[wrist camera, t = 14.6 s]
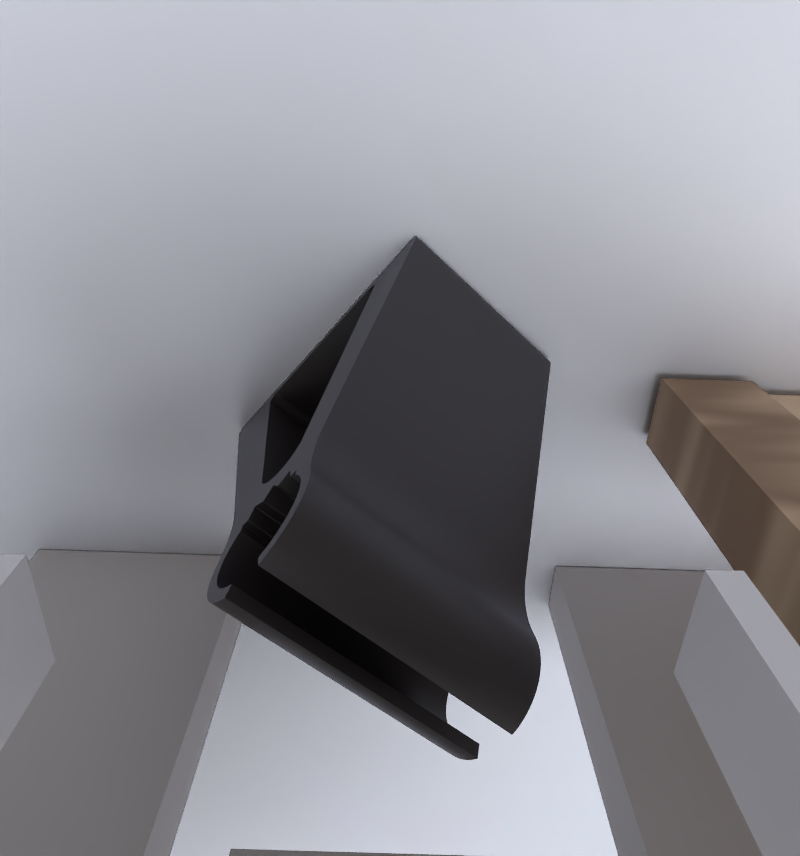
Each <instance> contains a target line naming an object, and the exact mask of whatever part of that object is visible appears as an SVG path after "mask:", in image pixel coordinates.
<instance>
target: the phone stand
mask: <svg viewBox="0 0 800 856" xmlns="http://www.w3.org/2000/svg"><path fill="white" fill-rule="evenodd" d="M549 372H550V361H548V360H547V359H546V358H545V357H544V356H543V355H542V354H541V353H540V352H539V351H538V350H537V349H536V348H535V347H534V346H532V345H531V344H530V343H529V342H528V341H527V340H526V339H525V338H524V337H523V336H522V335H521V334H520V333H519V332H518V331H517V330H515V329H514V328H513V327H512V326H511V325H510V324H509V323H508V322H507V321H506V320H505V319H504V318H503V317H502V316H501V315H499V314H498V313H497V312H496V311H495V310H494V309H493V308H492V307H491V306H490V305H489V304H488V303H487V302H486V301H485V300H483V299H482V298H481V297H480V296H479V295H478V294H477V293H476V292H475V291H474V290H473V289H472V288H471V287H470V286H469V285H467V284H466V283H465V282H464V281H463V280H462V279H461V278H460V277H459V276H458V275H457V274H456V273H455V272H454V271H453V270H451V269H450V268H449V267H448V266H447V265H446V264H445V263H444V262H443V261H442V260H441V259H440V258H439V257H438V256H437V255H435V254H434V253H433V252H432V251H431V250H430V249H429V248H428V247H427V246H426V245H425V244H424V243H423V242H422V241H421V240H420V239H418V238H417V237H416V236H415V237H414V238H413V239H412V240H411V241H410V242H409V243H408V244H407V245H406V246H405V247H404V248H403V249H402V250H401V252H400V253H399V254H398V255H397V256H396V257H395V258H394V259H393V260H392V262H391V263H390V264H389V265H388V266H387V267H386V268H385V269H384V271H383V272H382V273H381V274H380V275H379V276H378V277H377V278H376V279H375V281H374V282H373V283H372V284H371V285H370V286H369V287H368V288H367V290H366V291H365V292H364V293H363V294H362V295H361V296H360V297H359V298H358V300H357V301H356V302H355V303H354V304H353V305H352V306H351V307H350V308H349V310H348V311H347V312H346V313H345V314H344V315H343V316H342V317H341V319H340V320H339V321H338V322H337V323H336V324H335V325H334V326H333V327H332V329H331V330H330V331H329V332H328V333H327V334H326V336H325V337H324V339H323V340H322V341H321V342H319V343H318V344H317V345H316V346H315V348H314V349H313V350H312V351H311V352H310V353H309V354H308V355H307V356H306V358H305V359H304V360H303V361H302V362H301V363H300V364H299V365H298V367H297V368H296V369H295V370H294V371H293V372H292V373H291V374H290V375H289V377H288V378H287V379H286V380H285V381H284V382H283V383H282V384H281V386H280V387H279V388H278V389H277V390H276V391H275V392H274V393H273V394H272V396H271V397H270V398H269V399H268V400H267V401H266V402H265V403H264V404H263V406H262V407H261V408H260V409H259V410H258V411H257V412H256V413H255V415H254V416H253V417H252V418H251V419H250V420H249V421H248V422H247V424H246V425H245V426H244V427H243V429H242V430H241V432H240V434H239V444H238V461H237V478H236V495H235V512H234V523H233V527H232V531H231V534H230V537H229V539H228V542H227V545H226V547H225V549H224V552H223V554H222V556H221V558H220V560H219V562H218V564H217V566H216V568H215V571H214V573H213V575H212V578H211V580H210V583H209V587H208V591H207V599H208V601H209V602H210V603H211V604H213V605H215V606H216V607H218V608H219V609H221V610H223V611H224V612H226V613H227V614H229V615H230V616H232V617H234V618H235V619H237V620H238V621H240V622H242V623H243V624H245V625H246V626H248V627H250V628H251V629H253V630H254V631H256V632H258V633H259V634H261V635H262V636H264V637H265V638H267V639H269V640H270V641H272V642H273V643H275V644H277V645H278V646H280V647H281V648H283V649H285V650H286V651H288V652H289V653H291V654H293V655H294V656H296V657H297V658H299V659H300V660H302V661H304V662H305V663H307V664H308V665H310V666H312V667H313V668H315V669H316V670H318V671H320V672H321V673H323V674H324V675H326V676H327V677H329V678H331V679H332V680H334V681H335V682H337V683H339V684H340V685H342V686H343V687H345V688H347V689H348V690H350V691H351V692H353V693H355V694H356V695H358V696H359V697H361V698H362V699H364V700H366V701H367V702H369V703H370V704H372V705H374V706H375V707H377V708H378V709H380V710H382V711H383V712H385V713H386V714H388V715H390V716H391V717H393V718H394V719H396V720H397V721H399V722H401V723H402V724H404V725H405V726H407V727H409V728H410V729H412V730H413V731H415V732H417V733H418V734H420V735H421V736H423V737H425V738H426V739H428V740H429V741H431V742H432V743H434V744H436V745H437V746H439V747H440V748H442V749H444V750H445V751H447V752H448V753H450V754H452V755H453V756H455V757H457V758H460V759H464V760H472V759H477V758H478V750H479V743H477V742H475V741H474V740H472V739H471V738H469V737H468V736H466V735H465V734H463V733H462V732H460V731H458V730H457V729H455V728H454V727H452V726H451V725H449V724H448V723H447V719H446V703H447V696H448V692H449V693H450V694H452V695H453V696H455V697H456V698H458V699H459V700H461V701H462V702H464V703H465V704H467V705H468V706H470V707H471V708H473V709H474V710H476V711H477V712H479V713H480V714H482V715H483V716H485V717H486V718H488V719H489V720H491V721H492V722H494V723H495V724H497V725H498V726H500V727H501V728H503V729H504V730H506V731H507V732H509V733H510V734H513V733H514V732H515V731H516V729H517V728H518V727H519V725H520V724H521V722H522V721H523V719H524V718H525V716H526V714H527V712H528V710H529V708H530V706H531V704H532V701H533V699H534V696H535V693H536V690H537V686H538V682H539V677H540V668H541V657H540V649H539V645H538V642H537V640H536V637H535V635H534V633H533V631H532V629H531V627H530V624H529V621H528V617H527V613H526V607H525V577H526V569H527V560H528V552H529V543H530V535H531V526H532V518H533V509H534V500H535V492H536V483H537V475H538V466H539V458H540V449H541V441H542V432H543V423H544V415H545V406H546V398H547V389H548V381H549Z"/></svg>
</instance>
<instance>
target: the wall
mask: <svg viewBox="0 0 800 856" xmlns="http://www.w3.org/2000/svg"><path fill="white" fill-rule="evenodd" d="M221 556H222V555H191V554H161V553H130V552H99V551H68V550H38V551H37V553H36V554H35V555H34V556H33V558H32V559H31V560H30V561H29V563H28V564H29V568H30V571H31V575H32V579H33V582H34V586H35V590H36V593H37V597H38V601H39V604H40V608H41V612H42V615H43V619H44V622H45V626H46V630H47V633H48V637H49V641H50V644H51V648H52V652H53V655H54V659H55V662H54V663H53V665H52V667H51V668H50V670H49V672H48V673H47V675H46V677H45V678H44V680H43V682H42V683H41V685H40V687H39V688H38V690H37V692H36V693H35V695H34V697H33V698H32V700H31V702H30V703H29V705H28V707H27V708H26V710H25V711H24V713H23V715H22V716H21V718H20V720H19V721H18V723H17V725H16V726H15V728H14V730H13V731H12V733H11V735H10V736H9V738H8V740H7V741H6V743H5V745H4V746H3V748H2V750H1V751H0V856H170V853H171V849H172V846H173V843H174V840H175V837H176V833H177V830H178V827H179V824H180V820H181V817H182V814H183V811H184V808H185V804H186V801H187V798H188V795H189V791H190V788H191V785H192V782H193V778H194V775H195V772H196V769H197V766H198V762H199V759H200V756H201V753H202V749H203V746H204V743H205V740H206V737H207V733H208V730H209V727H210V724H211V720H212V717H213V714H214V711H215V708H216V704H217V701H218V698H219V695H220V691H221V688H222V685H223V682H224V679H225V675H226V672H227V669H228V666H229V662H230V659H231V656H232V653H233V650H234V646H235V643H236V640H237V637H238V633H239V630H240V627H241V624H242V622H240V621H238V620H237V619H235V618H234V617H232V616H230V615H229V614H227V613H226V612H224V611H223V610H221V609H219V608H218V607H216V606H215V605H213V604H211V603H210V602H209V601H208V599H207V591H208V587H209V583H210V580H211V578H212V575H213V573H214V571H215V568H216V566H217V564H218V562H219V560H220V558H221ZM703 574H704V571H685V570H654V569H623V568H592V567H561V566H555V572H554V577H553V583H552V589H551V594H550V600H549V605H548V606H549V610H550V613H551V617H552V620H553V624H554V627H555V631H556V635H557V638H558V642H559V645H560V649H561V652H562V656H563V660H564V663H565V667H566V670H567V674H568V677H569V681H570V685H571V688H572V692H573V695H574V699H575V702H576V706H577V710H578V713H579V717H580V720H581V724H582V727H583V731H584V735H585V738H586V742H587V745H588V749H589V752H590V756H591V760H592V763H593V767H594V770H595V774H596V777H597V781H598V785H599V788H600V792H601V795H602V799H603V802H604V806H605V810H606V813H607V817H608V820H609V824H610V827H611V831H612V835H613V838H614V842H615V845H616V849H617V852H618V856H763V855H762V853H761V851H760V849H759V847H758V845H757V843H756V841H755V839H754V837H753V835H752V833H751V831H750V829H749V827H748V825H747V823H746V821H745V818H744V816H743V814H742V812H741V810H740V808H739V806H738V804H737V802H736V800H735V798H734V796H733V794H732V792H731V790H730V788H729V786H728V784H727V781H726V779H725V777H724V775H723V773H722V771H721V769H720V767H719V765H718V763H717V761H716V759H715V757H714V755H713V753H712V751H711V749H710V747H709V745H708V742H707V740H706V738H705V736H704V734H703V732H702V730H701V728H700V726H699V724H698V722H697V720H696V718H695V716H694V714H693V712H692V710H691V708H690V705H689V703H688V701H687V699H686V697H685V695H684V693H683V691H682V689H681V687H680V685H679V683H678V681H677V679H676V677H675V675H674V669H675V666H676V663H677V660H678V656H679V653H680V650H681V647H682V643H683V640H684V637H685V633H686V630H687V627H688V624H689V620H690V617H691V614H692V610H693V607H694V604H695V601H696V597H697V594H698V591H699V588H700V584H701V581H702V578H703ZM229 856H462V855H427V854H392V853H357V852H322V851H286V850H251V849H231V850H230V854H229Z"/></svg>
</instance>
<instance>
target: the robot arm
mask: <svg viewBox="0 0 800 856" xmlns="http://www.w3.org/2000/svg"><path fill="white" fill-rule="evenodd" d="M54 662H55V659H54V655H53V652H52V648H51V644H50V641H49V637H48V633H47V630H46V626H45V622H44V619H43V615H42V612H41V608H40V604H39V601H38V597H37V593H36V590H35V586H34V582H33V579H32V575H31V571H30V568H29V564H28V560H27V557H26V554H0V751H1V750H2V748H3V746H4V745H5V743H6V741H7V740H8V738H9V736H10V735H11V733H12V731H13V730H14V728H15V726H16V725H17V723H18V721H19V720H20V718H21V716H22V715H23V713H24V711H25V710H26V708H27V707H28V705H29V703H30V702H31V700H32V698H33V697H34V695H35V693H36V692H37V690H38V688H39V687H40V685H41V683H42V682H43V680H44V678H45V677H46V675H47V673H48V672H49V670H50V668H51V667H52V665H53V663H54ZM674 675H675V677H676V679H677V681H678V683H679V685H680V687H681V689H682V691H683V693H684V695H685V697H686V699H687V701H688V703H689V705H690V708H691V710H692V712H693V714H694V716H695V718H696V720H697V722H698V724H699V726H700V728H701V730H702V732H703V734H704V736H705V738H706V740H707V742H708V745H709V747H710V749H711V751H712V753H713V755H714V757H715V759H716V761H717V763H718V765H719V767H720V769H721V771H722V773H723V775H724V777H725V779H726V781H727V784H728V786H729V788H730V790H731V792H732V794H733V796H734V798H735V800H736V802H737V804H738V806H739V808H740V810H741V812H742V814H743V816H744V818H745V821H746V823H747V825H748V827H749V829H750V831H751V833H752V835H753V837H754V839H755V841H756V843H757V845H758V847H759V849H760V851H761V853H762V855H763V856H800V646H799V645H798V643H797V642H796V641H795V639H794V638H793V637H792V635H791V634H790V633H789V631H788V630H787V628H786V627H785V626H784V624H783V623H782V622H781V620H780V619H779V618H778V616H777V615H776V614H775V612H774V611H773V610H772V608H771V607H770V606H769V604H768V603H767V601H766V600H765V599H764V597H763V596H762V595H761V593H760V592H759V591H758V589H757V588H756V587H755V585H754V584H753V583H752V581H751V580H750V579H749V577H748V576H747V574H746V573H745V572H744V571H733V570H705V571H704V574H703V578H702V581H701V584H700V588H699V591H698V594H697V597H696V601H695V604H694V607H693V610H692V614H691V617H690V620H689V624H688V627H687V630H686V633H685V637H684V640H683V643H682V647H681V650H680V653H679V656H678V660H677V663H676V666H675V669H674Z"/></svg>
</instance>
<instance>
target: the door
mask: <svg viewBox="0 0 800 856" xmlns="http://www.w3.org/2000/svg"><path fill="white" fill-rule="evenodd" d="M646 443H647V445H648V446H649V448H650V449H651V451H652V452H653V454H654V455H655V456H656V458H657V459H658V461H659V462H660V464H661V465H662V467H663V468H664V469H665V471H666V472H667V474H668V475H669V477H670V478H671V480H672V481H673V482H674V484H675V485H676V487H677V488H678V490H679V491H680V493H681V494H682V495H683V497H684V498H685V500H686V501H687V503H688V504H689V506H690V507H691V508H692V510H693V511H694V513H695V514H696V516H697V517H698V519H699V520H700V521H701V523H702V524H703V526H704V527H705V529H706V530H707V532H708V533H709V534H710V536H711V537H712V539H713V540H714V542H715V543H716V545H717V546H718V547H719V549H720V550H721V552H722V553H723V555H724V556H725V558H726V559H727V560H728V562H729V563H730V565H731V566H732V568H733V569H734V571H744V572H745V573H746V574H747V576H748V577H749V579H750V580H751V581H752V583H753V584H754V585H755V587H756V588H757V589H758V591H759V592H760V593H761V595H762V596H763V597H764V599H765V600H766V601H767V603H768V604H769V606H770V607H771V608H772V610H773V611H774V612H775V614H776V615H777V616H778V618H779V619H780V620H781V622H782V623H783V624H784V626H785V627H786V628H787V630H788V631H789V633H790V634H791V635H792V637H793V638H794V639H795V641H796V642H797V643H798V645H799V646H800V396H795V395H769V394H768V393H766V392H765V391H764V390H763V389H762V388H760V387H759V386H758V385H757V384H755V383H754V382H753V381H731V380H702V379H674V378H661V381H660V385H659V390H658V394H657V398H656V403H655V407H654V411H653V416H652V420H651V424H650V429H649V433H648V437H647V441H646Z"/></svg>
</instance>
